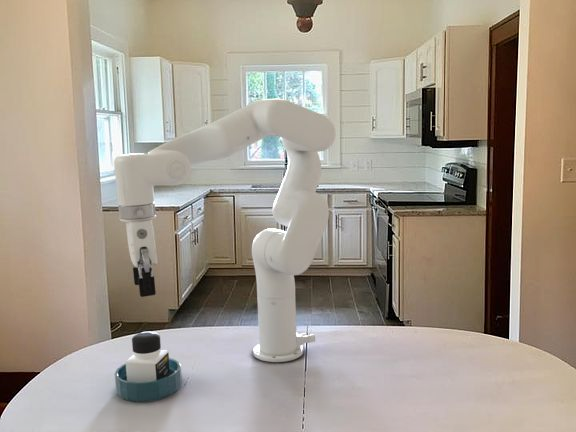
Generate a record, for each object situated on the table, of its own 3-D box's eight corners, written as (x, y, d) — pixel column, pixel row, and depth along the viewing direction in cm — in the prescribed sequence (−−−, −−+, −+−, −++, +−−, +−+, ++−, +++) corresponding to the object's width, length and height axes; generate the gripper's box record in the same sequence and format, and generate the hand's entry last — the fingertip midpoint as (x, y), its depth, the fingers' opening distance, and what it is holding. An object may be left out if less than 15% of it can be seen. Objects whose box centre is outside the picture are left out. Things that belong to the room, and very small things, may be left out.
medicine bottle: (158, 394, 130) (154, 341, 128) (127, 392, 131) (123, 339, 129) (170, 379, 137) (167, 329, 135) (141, 378, 138) (137, 328, 136)
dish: (175, 370, 143) (174, 352, 142) (187, 395, 130) (186, 376, 129) (113, 381, 138) (112, 363, 137) (119, 408, 125) (117, 388, 124)
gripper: (161, 216, 121) (168, 297, 124) (149, 205, 137) (156, 277, 140) (123, 220, 119) (131, 303, 121) (115, 208, 135) (123, 282, 137)
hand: (144, 289), depth 131 cm, fingers open, 9 cm apart
